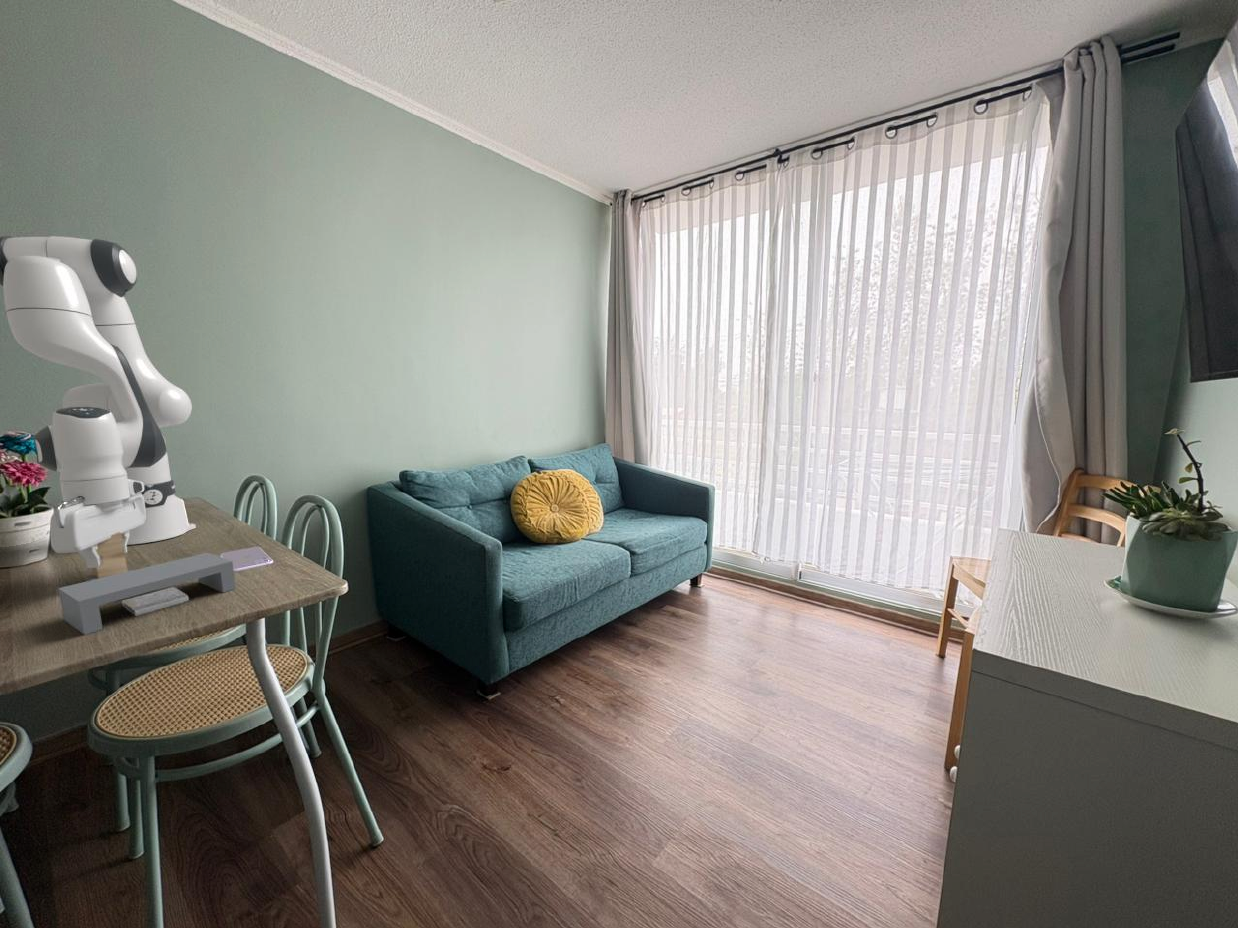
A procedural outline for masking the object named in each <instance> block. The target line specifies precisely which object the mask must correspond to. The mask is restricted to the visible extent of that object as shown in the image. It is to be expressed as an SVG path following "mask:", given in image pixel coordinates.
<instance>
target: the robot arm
mask: <svg viewBox="0 0 1238 928" xmlns="http://www.w3.org/2000/svg"><path fill="white" fill-rule="evenodd" d="M137 274H138V273H137V268H136V265H135V262H134V260H133V259H132V257H131V255H130V254H129V252H128V251H127V250H126V249H125V248H124V247H122V246H121V245H120V244H118V243H116V242H113V241H108V240H106V239H105V240H104V239H99V238H94V239H87V238H79V237H73V236H57V235H51V236H20V237H19V236H18V237H14V236H9V235H4V236H3V235H2V236H0V286H2V287H3V301H4V302H3V303H4V308H5V313H6V317H7V322H8V325H9V328H10V330H11V333H12V335H13V338H14V339H15V341H16V342H17V343H18V344H19V345H20V346H21V347H22V348H23V349H25V350H26V351H28V352H29V353H31V354H33V355H35V356H37V357H39V358H42V359H44V360H46V361H49V362H51V363H52V362H53V363H55V364H59V365H63V366H65V367H66V366H67V367H69V368H75V369H78V370H81V371H84V372H87V373H89V374H91V375H94V376H96V377H98V378H100V379H101V380H103V381H104V382H96V383H89V384H84V385H83V384H82V385H80V386H75V387H73V388H70V389H68V391H66V392H65V394H64V395H63V398H62V404H61V405H62V408H59V409H57V410H55V411H54V412H53V414H52V425H47V426H45V427H43V428H42V429H40V430H39V431H38V432H37V433H35V434H34V435H33V436H32V439H33V442H34V447H35V451H36V463H37V465H40V466H42V467H44V468H46V469H47V470H50V471H53V472H59V473H60V474H59V484H60V490H61V497H62V501H61V502H59V503H58V504H57V505H58V506H57V507H56V509H54V511H53V513H52V515H51V516H50V521H49V522H50V523H49V524H50V525H49V526H50V527H49V529H50V530H49V531H50V532H49V533H50V544H51V545H50V546H51V549H52V550H53V551H54V553H56V554H68V553H69V554H71V553H78V554H79V555H80V556H81V557H82V558H83V559H84V561H85V566H86V568H87V569H92V568H96V567H98V566H100V565H102V564H103V563H104V562H103V556H99V555H98V553H97V552H96V550H97V549H98V547H97V544H99V543H101V542H103V541H106V540H108V539H110V538H111V535H113V534H116V533H118V532H120V533H122V539H123V545H124V552H125V554H126V553H128V546H129V545H140V544H146V543H151V542H152V543H153V542H158V541H159V542H160V541H163V540H167V539H172V538H176V537H178V536H181V535H184V534H186V533H187V532H188V531H191V530H194V529H196V528H197V527H196V524H195V523H189V520H188V514H187V511H186V507H185V502H184V500H183V499H181V498H180V497H178V496H177V495H175V494H176V485H175V482H174V480H173V479H172V477H171V471H170V462H169V456H168V452H167V442H166V439H165V437H164V435H163V432H162V431H161V428H165V427H166V428H167V427H172V426H177V425H182V424H183V423H185V422H187V421H188V419H189V418H190V416H191V414H192V409H193V405H192V400H191V399H190V397H189V395H188V394H187V393H186V391H184V390H183V389H182V388H180V387H178V386H176V385H175V384H173V383H172V382H170V381H169V380H168V379H167V378H165V377H164V376H163V375H162V374H161V373H160V372H159V371H158V370H157V368H156V367H155V366H154V364H153V363H152V362H151V361H150V358H149V357H148V354H147V353H146V351H145V348H144V346H143V343H142V340H141V337H140V334H139V332H138V328H137V325H136V322H135V319H134V316H133V314H132V312H131V308H130V306H129V304H128V301H127V300H126V298H125V296H126V294H127V293H128V292H130V291H131V290H132V289H133V288H134V287H135V286H136V284H137V280H138V278H137Z"/></svg>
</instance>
